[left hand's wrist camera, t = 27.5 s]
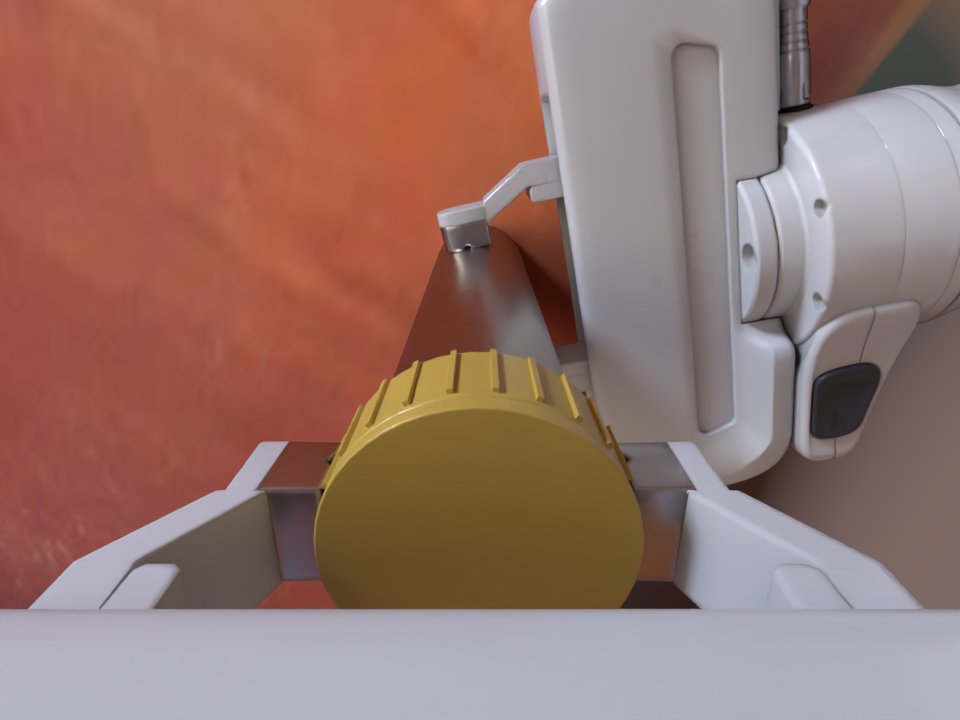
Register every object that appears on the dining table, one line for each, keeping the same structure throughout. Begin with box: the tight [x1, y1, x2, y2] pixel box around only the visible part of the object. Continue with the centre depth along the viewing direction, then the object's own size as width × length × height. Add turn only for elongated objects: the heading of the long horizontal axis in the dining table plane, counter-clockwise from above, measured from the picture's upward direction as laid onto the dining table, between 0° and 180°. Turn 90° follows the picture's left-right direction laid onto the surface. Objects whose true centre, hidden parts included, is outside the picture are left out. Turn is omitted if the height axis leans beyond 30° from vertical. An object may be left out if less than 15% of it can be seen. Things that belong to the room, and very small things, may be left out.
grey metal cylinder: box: [393, 226, 563, 378], centre depth 18 cm, size 4×4×19 cm
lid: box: [314, 349, 644, 609], centre depth 9 cm, size 5×5×2 cm
